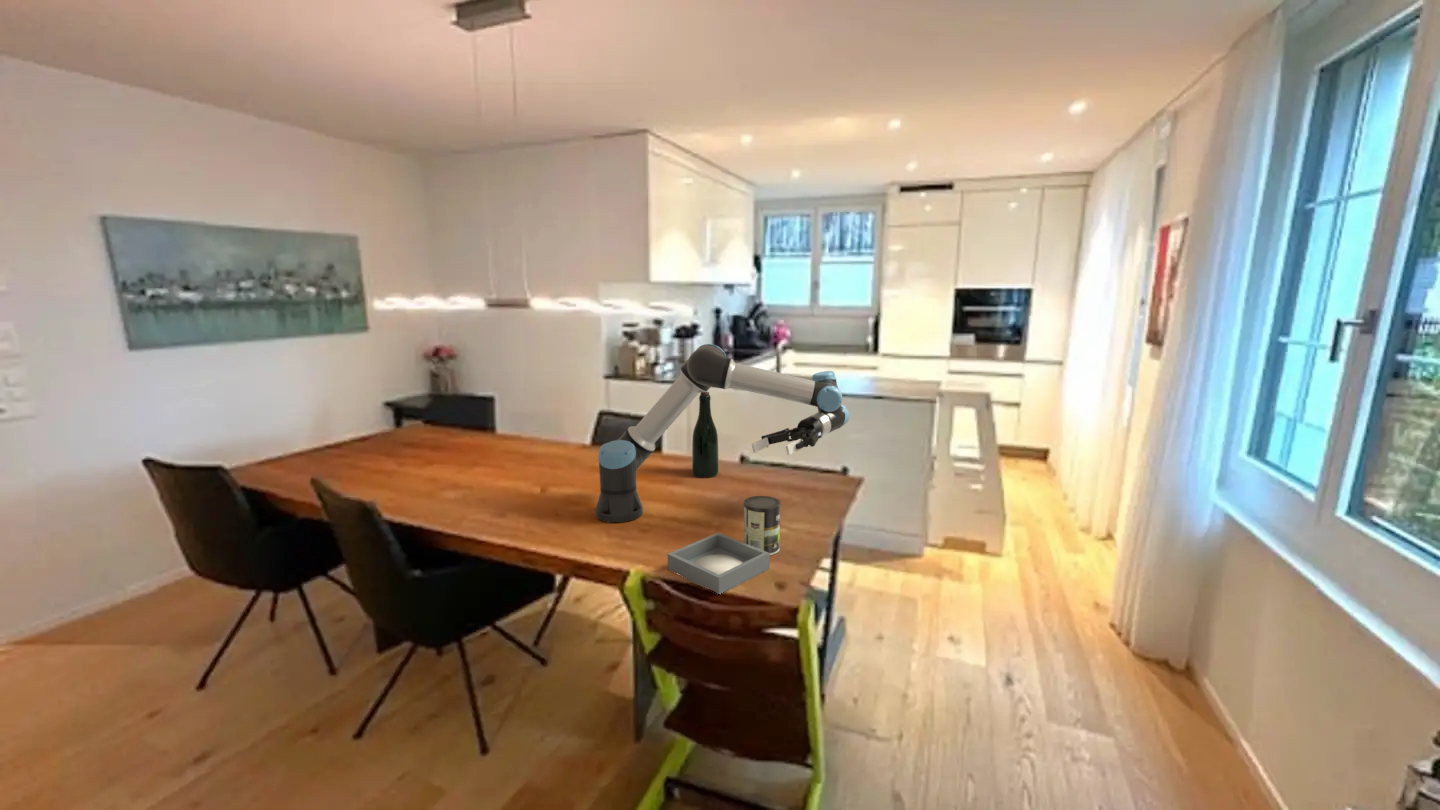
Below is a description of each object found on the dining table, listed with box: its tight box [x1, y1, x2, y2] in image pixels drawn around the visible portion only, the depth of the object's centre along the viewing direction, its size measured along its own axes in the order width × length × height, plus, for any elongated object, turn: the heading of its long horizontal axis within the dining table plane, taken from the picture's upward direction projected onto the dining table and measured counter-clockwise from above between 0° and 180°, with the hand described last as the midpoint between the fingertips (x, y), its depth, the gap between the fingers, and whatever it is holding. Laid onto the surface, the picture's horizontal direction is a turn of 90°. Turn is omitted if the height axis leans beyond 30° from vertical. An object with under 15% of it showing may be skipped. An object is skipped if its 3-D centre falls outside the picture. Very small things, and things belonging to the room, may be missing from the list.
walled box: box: [667, 532, 771, 595], centre depth 159 cm, size 19×19×4 cm
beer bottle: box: [691, 391, 720, 478], centre depth 235 cm, size 10×10×33 cm
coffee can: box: [743, 495, 781, 557], centre depth 170 cm, size 10×10×14 cm
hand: (769, 449), depth 178 cm, fingers open, 13 cm apart
